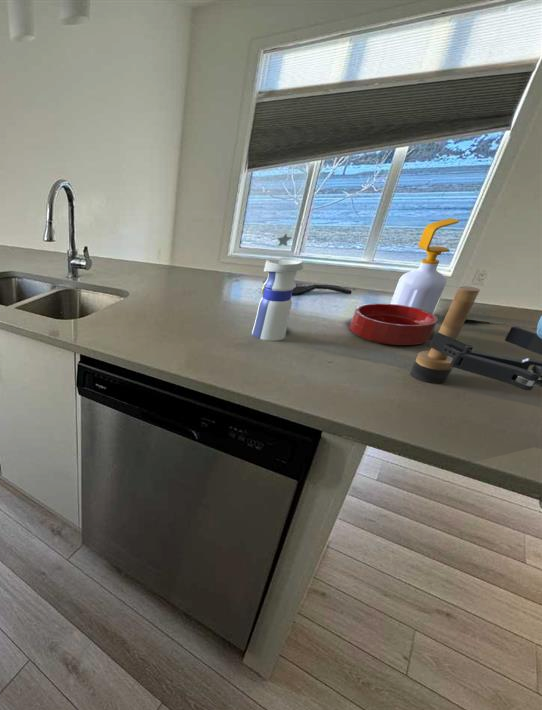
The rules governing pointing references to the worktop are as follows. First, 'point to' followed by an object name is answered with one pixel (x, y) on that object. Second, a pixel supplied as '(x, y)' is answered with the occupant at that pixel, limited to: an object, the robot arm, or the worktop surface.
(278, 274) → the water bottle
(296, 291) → the hairbrush
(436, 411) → the worktop surface
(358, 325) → the red bowl
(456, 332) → the dish brush
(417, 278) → the soap bottle
